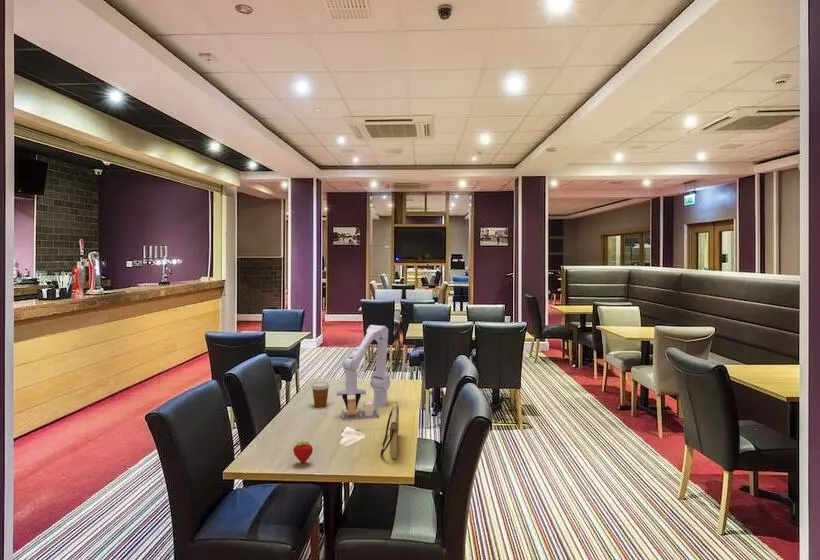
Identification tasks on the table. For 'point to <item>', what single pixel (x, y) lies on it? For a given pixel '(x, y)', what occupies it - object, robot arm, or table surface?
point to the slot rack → (359, 415)
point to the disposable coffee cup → (320, 393)
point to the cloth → (350, 436)
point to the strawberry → (302, 451)
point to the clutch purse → (392, 431)
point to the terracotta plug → (351, 406)
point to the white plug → (368, 408)
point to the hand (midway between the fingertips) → (351, 409)
